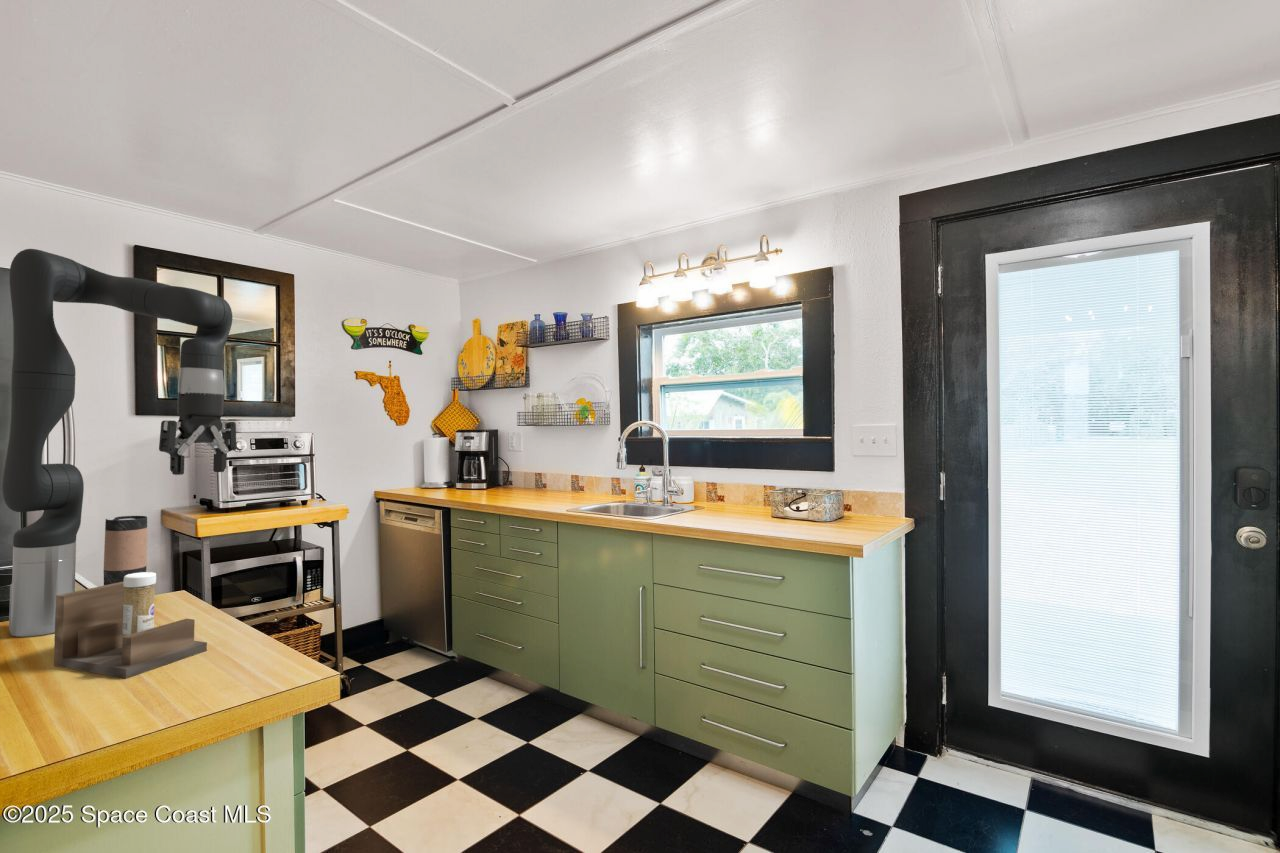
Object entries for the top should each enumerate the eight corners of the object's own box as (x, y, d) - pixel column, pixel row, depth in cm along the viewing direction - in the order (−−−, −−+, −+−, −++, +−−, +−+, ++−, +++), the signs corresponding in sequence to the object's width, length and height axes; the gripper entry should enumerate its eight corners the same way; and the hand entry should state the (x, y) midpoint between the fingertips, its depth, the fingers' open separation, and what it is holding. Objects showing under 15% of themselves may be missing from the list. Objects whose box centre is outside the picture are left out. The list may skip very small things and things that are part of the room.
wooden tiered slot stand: (53, 665, 108) (55, 595, 108) (139, 640, 121) (141, 577, 121) (126, 678, 103) (128, 605, 103) (206, 650, 116) (208, 585, 117)
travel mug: (148, 605, 145) (150, 518, 145) (105, 611, 139) (107, 521, 139) (142, 598, 150) (144, 514, 150) (100, 604, 144) (102, 517, 144)
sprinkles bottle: (152, 651, 111) (155, 575, 112) (119, 655, 109) (122, 577, 109) (154, 644, 115) (157, 570, 115) (122, 648, 113) (125, 572, 113)
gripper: (219, 394, 133) (217, 470, 133) (150, 389, 120) (148, 474, 120) (247, 394, 131) (245, 472, 131) (180, 389, 118) (177, 476, 118)
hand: (198, 473), depth 125 cm, fingers open, 8 cm apart
